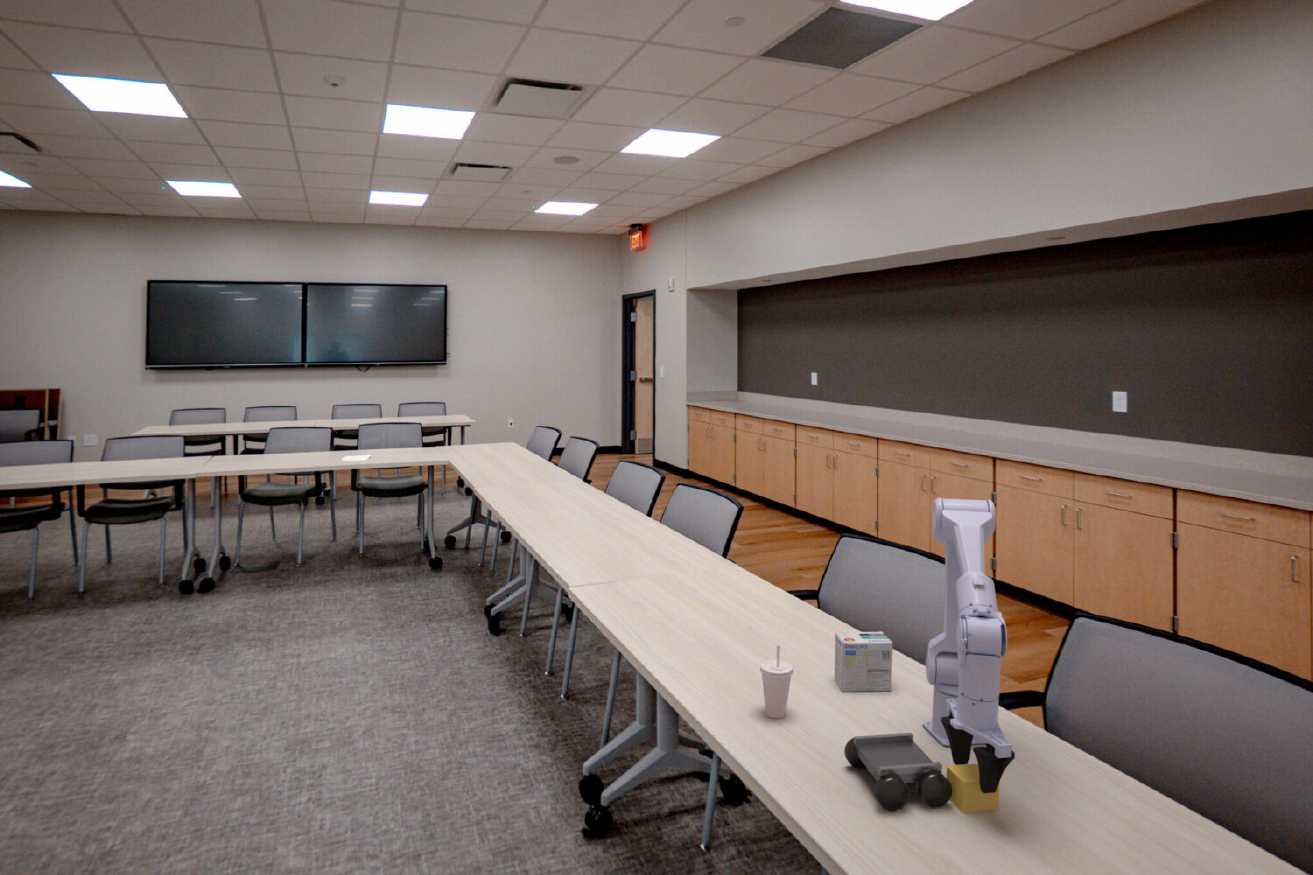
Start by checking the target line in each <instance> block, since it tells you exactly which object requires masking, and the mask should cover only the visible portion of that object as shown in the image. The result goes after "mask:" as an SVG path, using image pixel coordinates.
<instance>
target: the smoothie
mask: <svg viewBox="0 0 1313 875" xmlns="http://www.w3.org/2000/svg"><path fill="white" fill-rule="evenodd" d="M780 648H781V647H780V645H779V644H777V645H776V659H767V660H765V661H763V662H761V663H760V665H759V671H760V673H761V679H762V686H763V688H762V689H763V698H764V706H765V714H766V717H769V718H771V719H775V720H776V719H777V720H778V719H783V718H784V717H785V716H786V713H787V706H788V700H789V693H790V692H789V691H790V685H791V679H792V675H793V674H794V666H793V665H792V664H791V663H790V662H788V661H785V660H780V657H781V656H780Z"/></svg>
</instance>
